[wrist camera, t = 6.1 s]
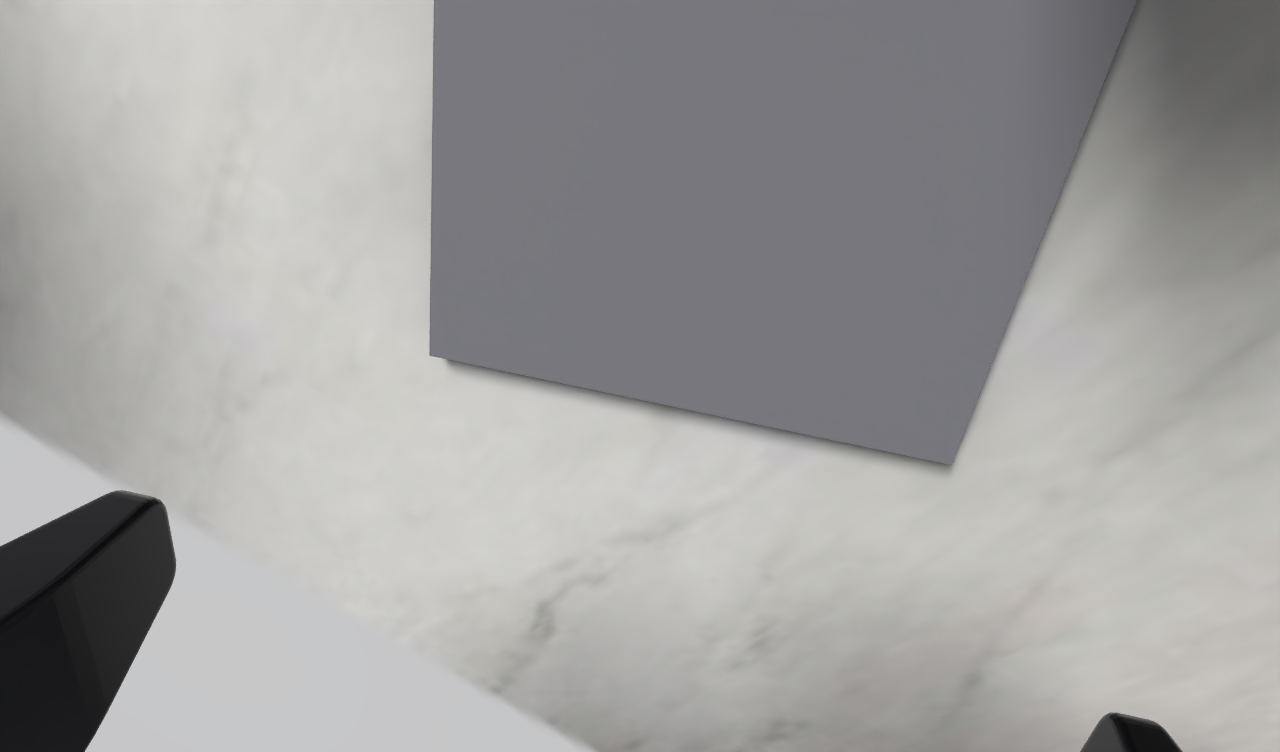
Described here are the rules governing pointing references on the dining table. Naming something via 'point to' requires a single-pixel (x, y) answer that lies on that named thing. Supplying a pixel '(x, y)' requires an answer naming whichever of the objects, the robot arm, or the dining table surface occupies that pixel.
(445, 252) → the coaster
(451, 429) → the dining table surface
